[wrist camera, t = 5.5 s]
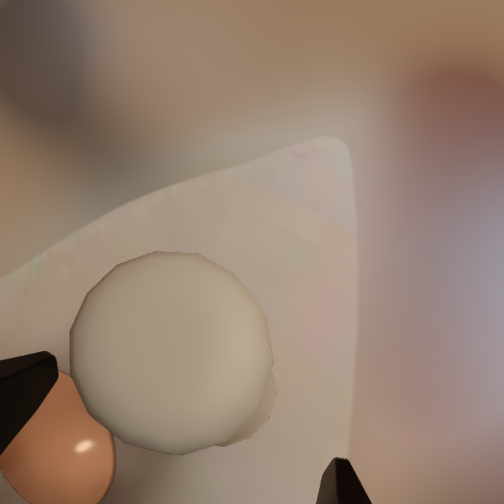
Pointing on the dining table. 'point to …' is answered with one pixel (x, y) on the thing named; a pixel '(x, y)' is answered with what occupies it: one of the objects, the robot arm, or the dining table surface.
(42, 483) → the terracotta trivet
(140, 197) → the dining table surface
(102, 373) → the salt shaker
